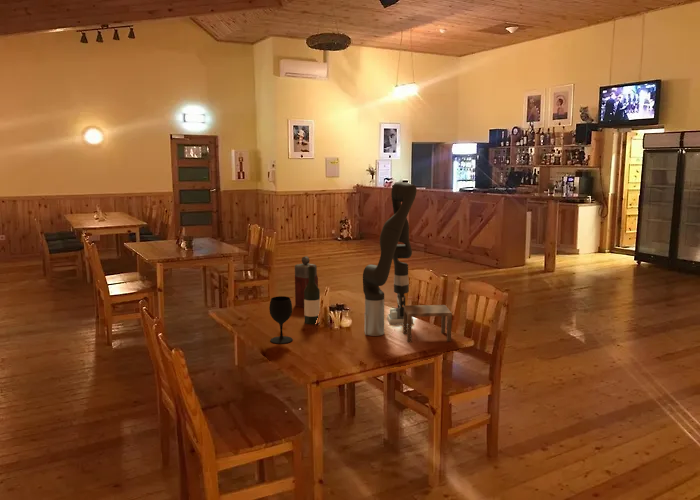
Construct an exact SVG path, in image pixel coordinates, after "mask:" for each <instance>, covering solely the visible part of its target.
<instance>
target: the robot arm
mask: <svg viewBox="0 0 700 500" xmlns="http://www.w3.org/2000/svg"><path fill="white" fill-rule="evenodd" d="M417 192H418V191H417V186H416V185H415V184H413V183H408V182H402V181H395V182H394V183H393V185H392V186H391V192H390V195H391V202H392V203H391V204H392V211H393V215H392V216H391V217H390V218H388V219H387V220H386V221H385V222H384V224H383V226H382V229H381V231H380V235H379V248H380V256H379V260H378V263H377V264H371V263H370V264H367V265H366V266H365V267H364V269H363V272H362V288H363V290H362V291H363V294H364V330H363V331H364V335H365V336H373V337H379V336H382V335H384V334H385V292H384V291H383V290H382V289H381V288H380V287H382V286H384V285H385V284H386V283H387V281H388V278H389V275H390V272H391V266H392V262H393V266H394V267H393V268H394V270H393V272H394V275H393V293H395V294H397V295H396V302H397V308H400V316H401V317H403V316H404V306H406V299H407V298H406V296H405V294H408V293H409V288H410V287H409V286H410V283H409V282H410V280H409V264H408V263H407V262H403V261H400V260H399V259H409V258H411V257H412V255H413V249H412V247H411V246H412V245H411V242H410V225H409V224H410V222H409V220H408V218H407V217H408V215H409V213H410V210H411V208H412V206H413V204H414V201H415V199H416V196H417ZM399 243H400V244H399Z"/></svg>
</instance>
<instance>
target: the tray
mask: <svg viewBox="0 0 700 500" xmlns="http://www.w3.org/2000/svg"><path fill="white" fill-rule="evenodd" d="M386 319H387V322H388V324H389V325H404V316H403V317H401V316H400V308H398V307H395V308H392V307H391V308H389V313H387V314H386ZM407 325H408V316H407ZM412 325H414V317H412Z"/></svg>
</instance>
